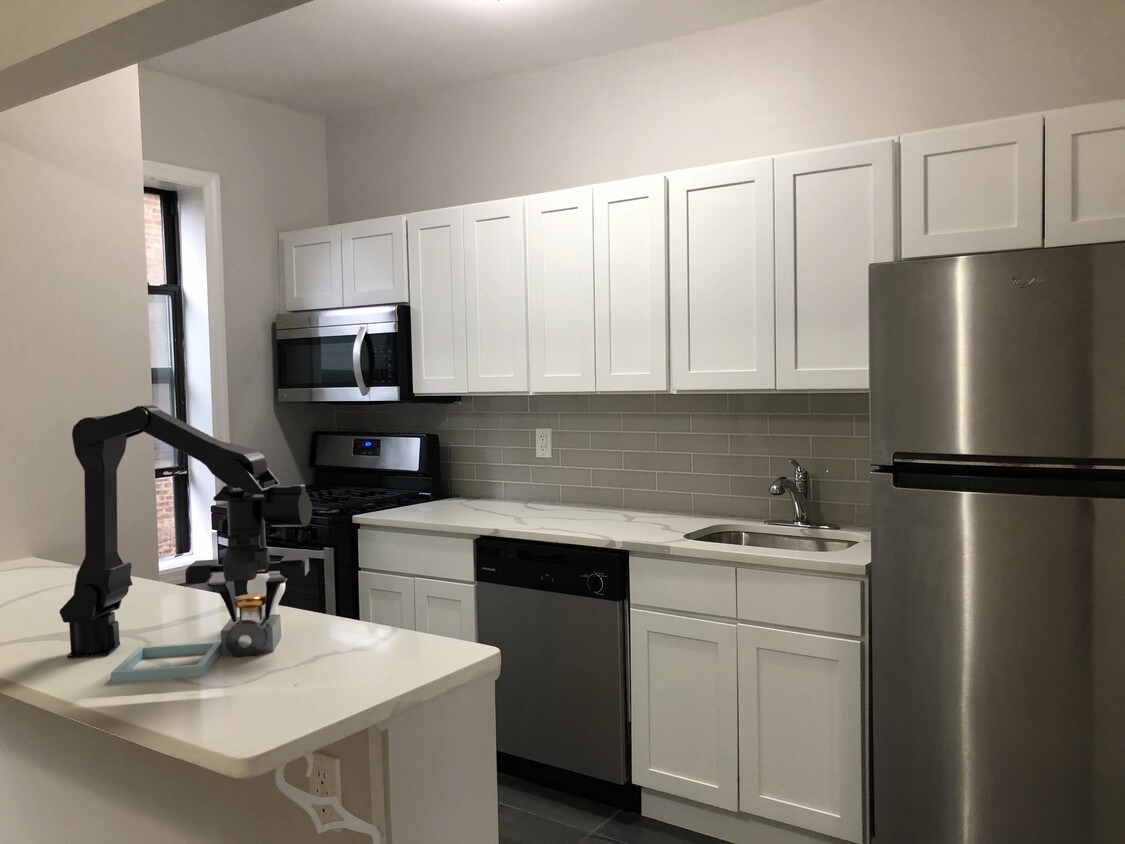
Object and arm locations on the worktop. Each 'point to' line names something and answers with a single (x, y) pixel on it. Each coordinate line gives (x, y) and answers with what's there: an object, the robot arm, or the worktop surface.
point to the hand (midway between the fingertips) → (251, 620)
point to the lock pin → (251, 607)
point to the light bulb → (264, 590)
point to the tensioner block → (250, 636)
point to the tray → (129, 674)
